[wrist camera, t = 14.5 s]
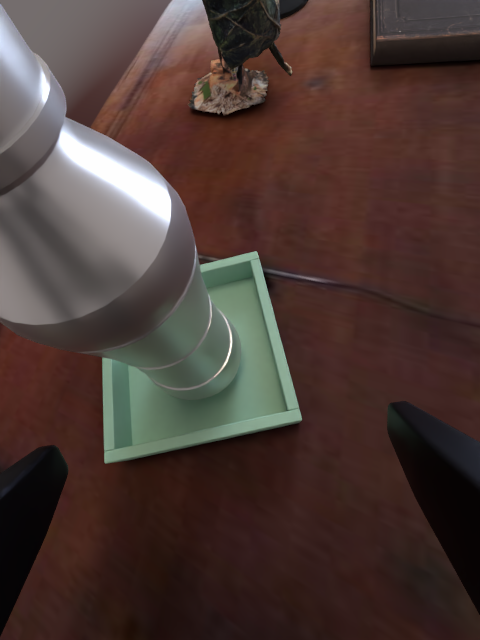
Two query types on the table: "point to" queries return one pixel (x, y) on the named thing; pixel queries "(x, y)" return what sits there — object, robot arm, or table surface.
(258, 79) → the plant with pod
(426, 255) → the table surface
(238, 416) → the bin
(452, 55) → the hardcover book
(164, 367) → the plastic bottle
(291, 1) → the wine glass
